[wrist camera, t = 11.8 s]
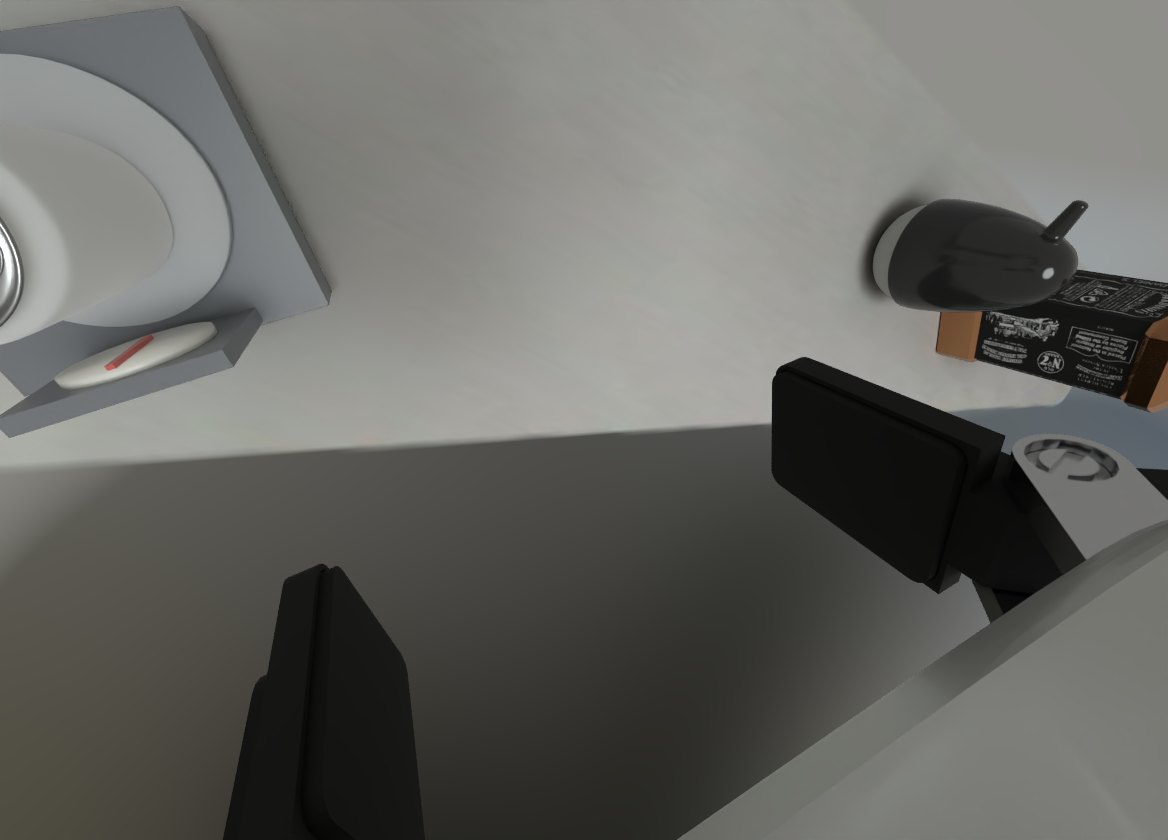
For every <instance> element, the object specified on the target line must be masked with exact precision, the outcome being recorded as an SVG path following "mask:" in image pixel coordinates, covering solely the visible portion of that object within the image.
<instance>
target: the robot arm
mask: <svg viewBox="0 0 1168 840" xmlns="http://www.w3.org/2000/svg"><path fill="white" fill-rule="evenodd" d="M1004 439H1005V435H1002V434H1000V433H997V432H994V431H992V430H990V429H987V428H984V427H982V426H979V425H977V424H974V423H972V422H969V421H967V420H964V419H962V418H959V417H957V416H954V415H952V414H949V413H947V412H944V411H942V410H939V409H937V408H934V407H931V406H929V405H926V404H924V403H921V402H919V401H916V400H914V399H911V398H909V397H906V396H904V395H901V394H899V393H896V392H894V391H891V390H889V389H886V388H884V387H881V386H878V385H876V384H873V383H871V382H868V381H866V380H863V379H861V378H858V377H856V376H853V375H851V374H848V373H846V372H843V371H841V370H838V369H836V368H833V367H831V366H828V365H825V364H823V363H820V362H818V361H815V360H813V359H810V358H807V357H802V358H799V359H796V360H794V361H792V362H789V363H787V364H785V365H782V366H781V367H779V368H778V370H777V371H776V376H775V377H774V378H773V381H772V474H773V477H774V478H775V480H776V482H777V483H778V484H779V485H781V486H782V487H783V488H785V489H786V490H787V491H789V492H790V493H791V494H793V495H794V496H796V497H797V498H799V499H800V500H801V501H803V502H804V503H805V504H807V505H808V506H809V507H811V508H812V509H814V510H815V511H816V512H818V513H819V514H821V515H822V516H823V517H825V518H826V519H828V520H829V521H830V522H832V523H833V524H834V525H836V526H837V527H839V528H840V529H841V530H843V531H844V532H846V533H847V534H848V535H850V536H851V537H852V538H854V539H855V540H856V541H858V542H859V543H861V544H862V545H863V546H865V547H866V548H868V549H869V550H870V551H872V552H873V553H875V554H876V555H877V556H879V557H880V558H881V559H883V560H884V561H885V562H887V563H888V564H890V565H891V566H892V567H894V568H895V569H897V570H898V571H899V572H901V573H902V574H903V575H905V576H906V577H908V578H909V579H911V580H912V581H915V582H918V583H924V584H925V585H926V586H928V587H929V588H931V589H932V590H933V591H935V592H936V593H938V594H940V593H941V592H943V591H944V590H946V589H947V588H949V587H951V586H952V585H953V584H955V583H957V582H958V581H959V578H960V575H961V573H963V574H964V575H966V576H967V577H969V578H970V579H972V583H973V585H974V587H975V590H976V592H977V594H978V596H979V599H980V601H981V603H982V605H983V608H984V610H985V612H986V615H987V617H988V619H989V621H990V624H989V625H988V626H986V627H985V628H983V629H982V630H980V631H979V632H977V633H976V634H975V635H973V636H972V637H970V638H969V639H967V640H966V641H964V642H963V643H961V644H960V645H958V646H957V647H956V648H954V649H952V650H951V651H950V652H948V653H947V654H945V655H944V656H942V657H941V658H939V659H938V660H936V661H935V662H933V663H932V664H931V665H929V666H928V667H926V668H925V669H923V670H922V671H920V672H919V673H918V674H916V675H915V676H913V677H912V678H910V679H909V680H907V681H906V682H904V683H903V684H901V685H900V686H899V687H897V688H896V689H894V690H893V691H891V692H890V693H888V694H887V695H885V696H884V697H882V698H881V699H880V700H878V701H877V702H875V703H874V704H873V705H871V706H869V707H868V708H867V709H865V710H864V711H862V712H861V713H859V714H858V715H856V716H855V717H854V718H852V719H851V720H849V721H848V722H846V723H845V724H844V725H842V726H840V727H839V728H837V729H836V730H835V731H833V732H832V733H830V734H829V735H827V736H826V737H824V738H823V739H822V740H820V741H819V742H817V743H816V744H814V745H813V746H812V747H810V748H809V749H807V750H806V751H804V752H803V753H801V754H800V755H799V756H797V757H796V758H794V759H793V760H791V761H790V762H788V763H787V764H785V765H784V766H782V767H781V768H780V769H778V770H777V771H775V772H774V773H772V774H771V775H769V776H768V777H767V778H765V779H764V780H762V781H761V782H759V783H758V784H756V785H755V786H754V787H752V788H751V789H749V790H748V791H746V792H745V793H744V794H742V795H741V796H739V797H738V798H736V799H735V800H734V801H732V802H731V803H729V804H728V805H726V806H725V807H724V808H722V809H721V810H719V811H718V812H716V813H715V814H713V815H712V816H711V817H709V818H708V819H706V820H705V821H703V822H702V823H701V824H699V825H698V826H696V827H695V828H693V829H692V830H691V831H689V832H688V833H686V834H685V835H683V836H682V837H680V838H679V839H678V840H1168V470H1159V469H1141V468H1135V467H1134V466H1133V465H1132V464H1131V463H1130V462H1129V461H1128V460H1127V459H1126V458H1124V457H1123V456H1122V455H1120V454H1119V453H1118V452H1116V451H1114V450H1112V449H1110V448H1108V447H1106V446H1104V445H1102V444H1099V443H1096V442H1093V441H1090V440H1087V439H1084V438H1079V437H1073V436H1068V435H1057V434H1039V435H1031V436H1028V437H1025V438H1021V439H1020V440H1019V441H1017V442H1016V443H1015V444H1014V446H1013V449H1012V452H1011V455H1008V454H1006V453H1003V452H1001V448H1002V445H1003V442H1004ZM223 840H425V834H424V825H423V815H422V806H421V796H420V787H419V777H418V769H417V759H416V749H415V740H414V730H413V720H412V711H411V701H410V692H409V682H408V673H407V669H406V664H405V662H404V659H403V657H402V655H401V653H400V652H399V650H398V649H397V647H396V646H395V644H394V643H393V642H392V640H391V639H390V637H389V636H388V635H387V633H386V632H385V630H384V629H383V627H382V626H381V624H380V623H379V622H378V620H377V619H376V617H375V616H374V614H373V613H372V612H371V610H370V609H369V607H368V606H367V604H366V603H365V602H364V600H363V599H362V597H361V596H360V594H359V593H358V592H357V590H356V589H355V587H354V586H353V585H352V583H351V582H350V580H349V579H348V577H347V576H346V574H345V573H344V572H343V570H342V569H341V568H340V567H338V566H335V567H333V568H331V569H329V568H328V567H327V566H326V565H324V564H319V565H316V566H314V567H312V568H309V569H307V570H305V571H303V572H300V573H298V574H295V575H293V576H291V577H288V578H287V579H286V580H285V581H284V584H283V589H282V594H281V600H280V605H279V611H278V617H277V622H276V628H275V633H274V639H273V645H272V650H271V656H270V661H269V667H268V673H267V675H265V676H263V677H261V678H260V679H259V680H258V682H257V683H256V684H255V687H254V690H253V693H252V697H251V702H250V707H249V712H248V717H247V722H246V727H245V732H244V737H243V742H242V747H241V752H240V757H239V762H238V767H237V772H236V777H235V782H234V787H233V792H232V797H231V802H230V807H229V812H228V817H227V822H226V827H225V832H224V837H223Z"/></svg>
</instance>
